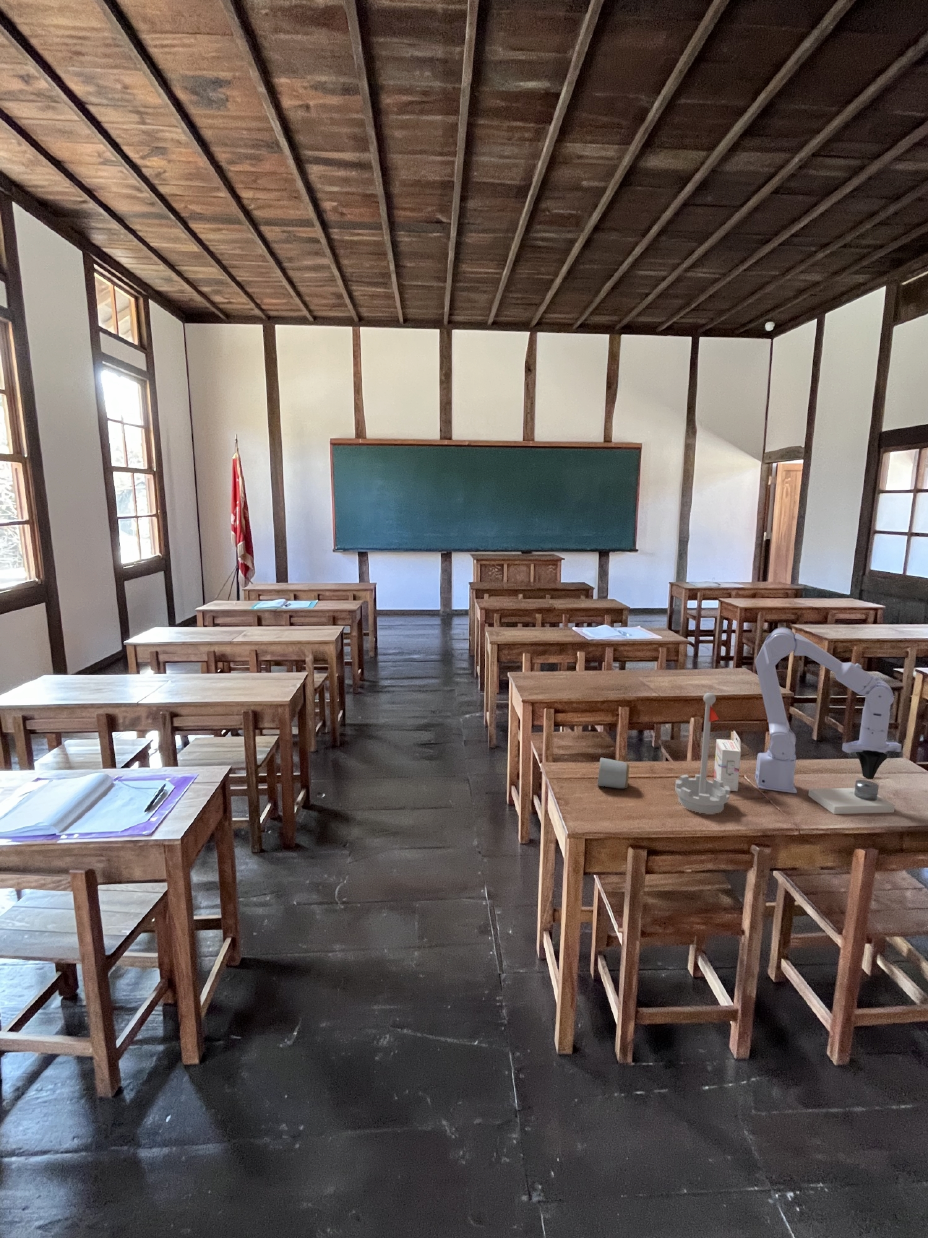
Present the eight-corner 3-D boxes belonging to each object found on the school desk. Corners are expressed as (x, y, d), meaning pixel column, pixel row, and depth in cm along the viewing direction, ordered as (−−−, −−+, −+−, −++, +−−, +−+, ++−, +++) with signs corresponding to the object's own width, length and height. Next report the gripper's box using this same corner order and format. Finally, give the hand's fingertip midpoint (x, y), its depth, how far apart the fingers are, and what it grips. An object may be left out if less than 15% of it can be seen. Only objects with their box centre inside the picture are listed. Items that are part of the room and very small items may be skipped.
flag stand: (666, 793, 160) (673, 686, 155) (712, 792, 161) (721, 685, 156) (688, 817, 147) (697, 701, 142) (738, 815, 148) (748, 700, 143)
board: (833, 814, 149) (834, 806, 149) (808, 796, 159) (809, 789, 159) (893, 812, 151) (894, 805, 150) (864, 794, 160) (865, 787, 160)
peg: (856, 805, 154) (858, 786, 153) (850, 797, 158) (853, 778, 157) (878, 808, 152) (881, 789, 151) (872, 800, 157) (875, 781, 156)
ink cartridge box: (712, 777, 170) (716, 728, 168) (730, 778, 170) (735, 729, 167) (718, 790, 162) (723, 739, 160) (738, 792, 161) (742, 740, 159)
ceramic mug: (628, 793, 159) (629, 766, 158) (597, 790, 161) (598, 763, 160) (627, 778, 170) (628, 752, 168) (598, 775, 172) (599, 749, 170)
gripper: (858, 733, 147) (852, 785, 150) (913, 732, 148) (906, 783, 151) (839, 724, 154) (833, 773, 156) (891, 723, 155) (885, 772, 158)
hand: (867, 777), depth 154 cm, fingers closed
